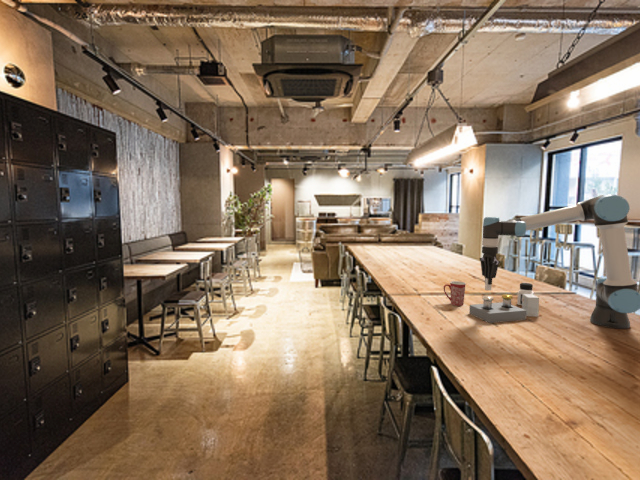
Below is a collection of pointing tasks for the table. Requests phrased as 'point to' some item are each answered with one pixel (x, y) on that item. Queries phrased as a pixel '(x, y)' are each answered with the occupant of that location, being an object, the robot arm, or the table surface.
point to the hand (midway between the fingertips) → (488, 289)
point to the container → (524, 291)
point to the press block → (498, 313)
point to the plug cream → (487, 302)
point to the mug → (456, 292)
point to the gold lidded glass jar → (507, 300)
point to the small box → (530, 304)
